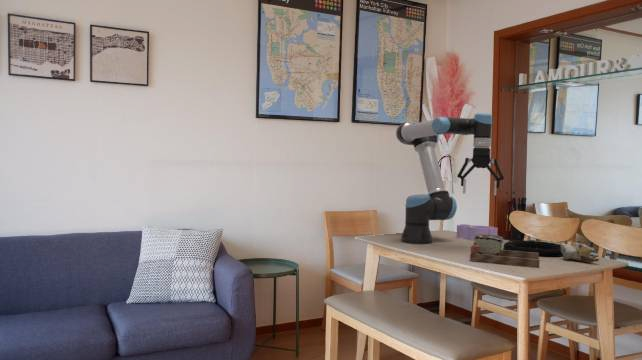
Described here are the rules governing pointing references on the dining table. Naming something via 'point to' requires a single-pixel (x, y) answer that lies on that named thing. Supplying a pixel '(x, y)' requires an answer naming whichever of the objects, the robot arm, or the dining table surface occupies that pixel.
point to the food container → (489, 244)
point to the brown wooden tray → (506, 257)
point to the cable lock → (534, 247)
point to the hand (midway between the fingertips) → (479, 194)
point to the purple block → (474, 231)
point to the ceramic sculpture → (577, 252)
